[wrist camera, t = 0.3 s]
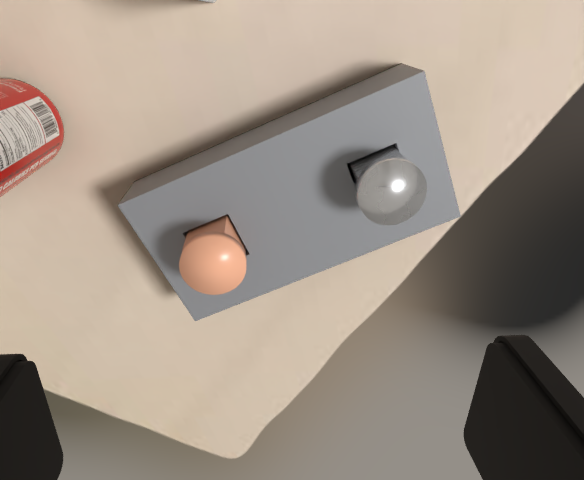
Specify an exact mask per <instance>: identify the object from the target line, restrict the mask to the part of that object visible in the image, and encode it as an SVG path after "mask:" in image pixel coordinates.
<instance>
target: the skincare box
mask: <svg viewBox="0 0 584 480" xmlns="http://www.w3.org/2000/svg"><path fill="white" fill-rule="evenodd" d="M200 1H206V2H210V3H215V1H216V0H200Z"/></svg>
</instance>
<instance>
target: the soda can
mask: <svg viewBox="0 0 584 480" xmlns="http://www.w3.org/2000/svg"><path fill="white" fill-rule="evenodd" d="M63 138H64V128H63V123H62V120H61V117H60V115H59V112H58V111H57V109H56V107H55V106H54V104H53V103H52V102H51V101H50V99H49V98H48V97H47V96H46V95H44V94H43V93H42V92H41V91H39V90H38V89H37V88H35V87H33V86H32V85H30V84H27V83H25V82H22V81H19V80H14V79H0V197H1V196H2V195H4V194H5V193H6V192H8V191H9V190H11V189H12V188H13V187H15V186H16V185H17V184H19V183H20V182H22V181H23V180H24V179H26V178H27V177H28V176H30V175H31V174H33V173H34V172H35V171H37V170H38V169H40V168H41V167H42V166H44V165H45V164H46V163H48V162H49V161H50V160H52V159H53V158H54V157H55V156H56V154H57V153H58V152H59V150H60V148H61V146H62V143H63Z"/></svg>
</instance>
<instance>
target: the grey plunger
mask: <svg viewBox="0 0 584 480" xmlns="http://www.w3.org/2000/svg"><path fill="white" fill-rule="evenodd" d="M348 165H349V167H350V170H351V173H352V175H353V178H354V181H355V184H356V186H355V197H356V201H357V203H358V205H359V207H360V209H361V211H362V212H363V214H364V215H365V216H366V217H367V218H368V219H369V220H371V221H372V222H374V223H376V224H380V225H396V224H399V223H402V222H404V221H406V220H408V219H410V218H411V217H412V216H414V215H415V214H416V213H417V212H418V210H419V209H420V208H421V206H422V205H423V203H424V200H425V198H426V193H427V183H426V179H425V176H424V175H423V173H422V171H421V170H420V169H419V168H418V167H417V166H416V165H415V164H414V163H413V162H411V161H410V160H408V159H406V158H405V157H404V156H403V155H402V154H401V153H400V152H399V151H398V150H397V149H395V148H394V147H393V146H392V145H390V146H388V147H385V148H383V149H381V150H378V151H376V152H374V153H371V154H369V155H366V156H364V157H362V158H359V159H357V160H355V161H352V162H350V163H348Z"/></svg>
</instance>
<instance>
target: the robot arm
mask: <svg viewBox="0 0 584 480" xmlns="http://www.w3.org/2000/svg"><path fill="white" fill-rule="evenodd" d="M464 441H465V444H466V447H467V449H468V451H469V453H470V455H471V457H472V459H473V461H474V463H475V465H476V467H477V469H478V471H479V473H480V475H481V477H482V479H483V480H584V398H583V397H582V395H581V394H580V393H579V392H578V391H577V390H576V389H575V388H574V386H573V385H572V384H571V383H570V382H569V381H568V380H567V378H566V377H565V376H564V375H563V374H562V373H561V372H560V370H559V369H558V368H557V367H556V366H555V365H554V364H553V363H552V361H551V360H550V359H549V358H548V357H547V356H546V355H545V354H544V353H543V351H542V350H541V349H540V348H539V347H538V346H537V345H536V343H534V341H533V340H532V339H531V338H530V337H528V336H526V335H511V336H498V337H497V338H496V339H495V340H494V342H493V343H490V344H489V345H488V346H487V349H486V352H485V356H484V360H483V363H482V367H481V370H480V374H479V378H478V381H477V385H476V388H475V392H474V395H473V399H472V403H471V406H470V410H469V413H468V417H467V421H466V424H465V428H464ZM62 464H63V452H62V448H61V445H60V442H59V439H58V435H57V432H56V429H55V426H54V423H53V419H52V416H51V413H50V409H49V406H48V403H47V400H46V397H45V393H44V390H43V387H42V384H41V380H40V377H39V374H38V371H37V368H36V365H35V363H34V362H33V361H27V359H26V357H25V356H24V355H23V354H3V355H0V480H57V479H58V477H59V474H60V472H61V468H62Z"/></svg>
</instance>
